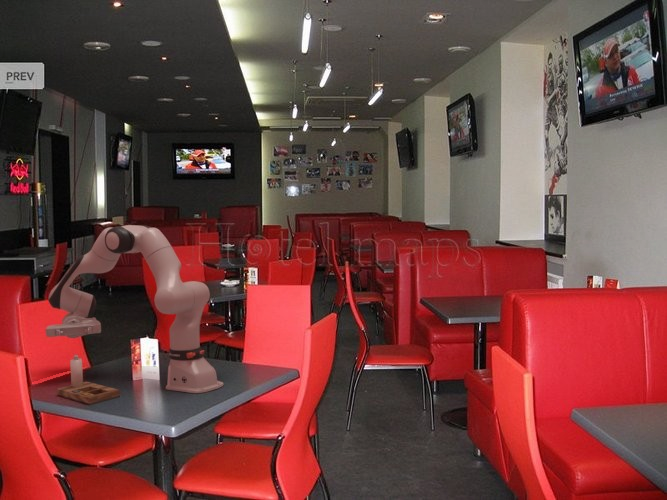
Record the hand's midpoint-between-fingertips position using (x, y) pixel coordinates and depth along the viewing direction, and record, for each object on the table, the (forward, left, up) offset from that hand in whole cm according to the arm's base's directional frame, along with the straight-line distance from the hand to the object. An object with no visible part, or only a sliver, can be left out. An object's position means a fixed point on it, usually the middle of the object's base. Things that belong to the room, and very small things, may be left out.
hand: (74, 332), depth 256 cm
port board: (-18, +6, -20) cm, 28 cm away
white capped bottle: (-11, +6, -18) cm, 22 cm away
